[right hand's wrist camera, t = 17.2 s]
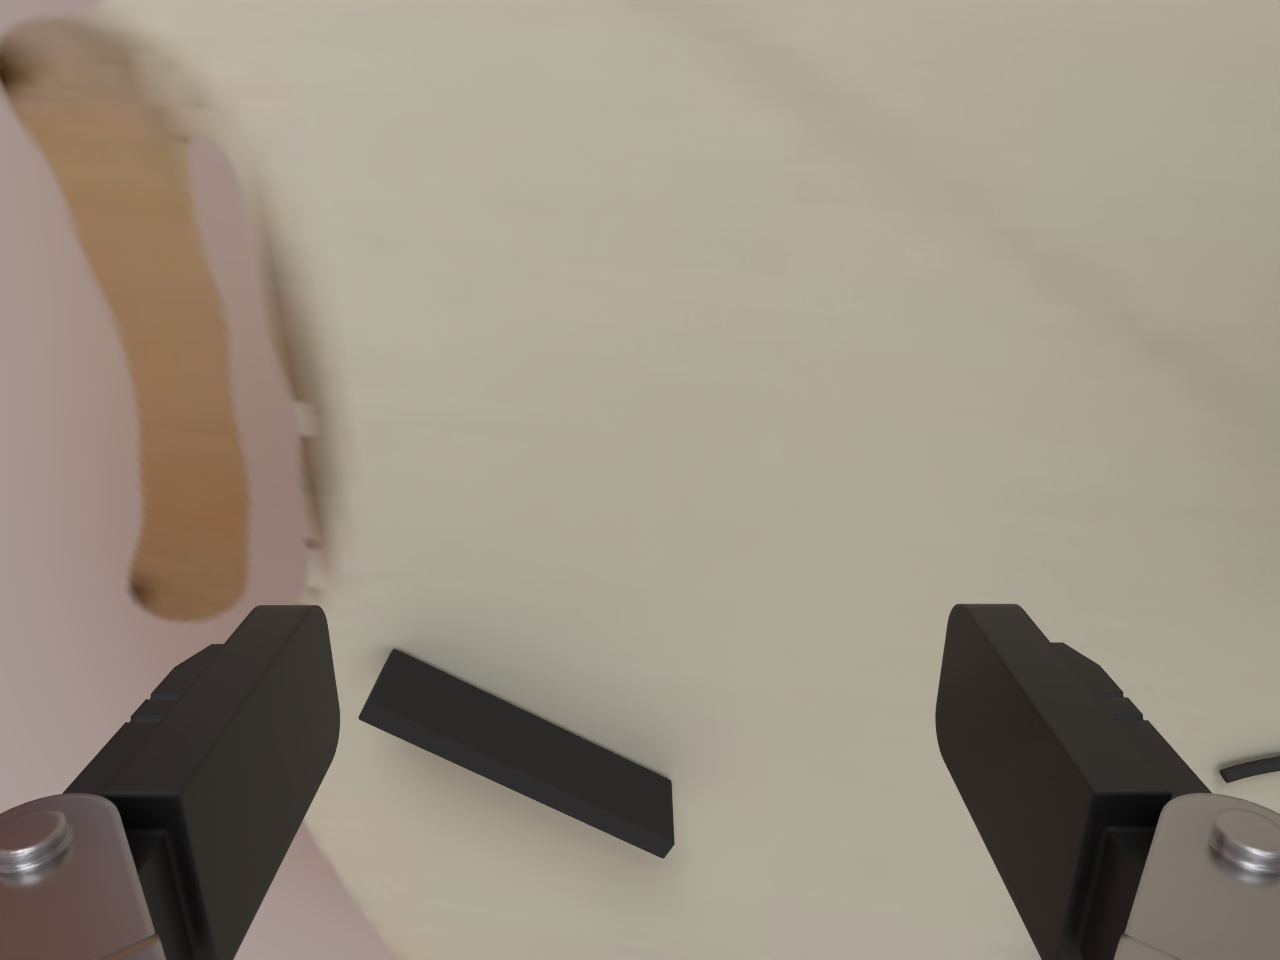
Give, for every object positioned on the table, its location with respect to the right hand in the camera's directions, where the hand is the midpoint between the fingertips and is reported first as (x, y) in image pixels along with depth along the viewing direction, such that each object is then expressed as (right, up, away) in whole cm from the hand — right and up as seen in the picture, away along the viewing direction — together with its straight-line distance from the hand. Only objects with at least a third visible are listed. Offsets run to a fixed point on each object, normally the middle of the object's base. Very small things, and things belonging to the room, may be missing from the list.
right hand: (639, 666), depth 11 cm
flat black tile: (-6, -11, +38) cm, 40 cm away
